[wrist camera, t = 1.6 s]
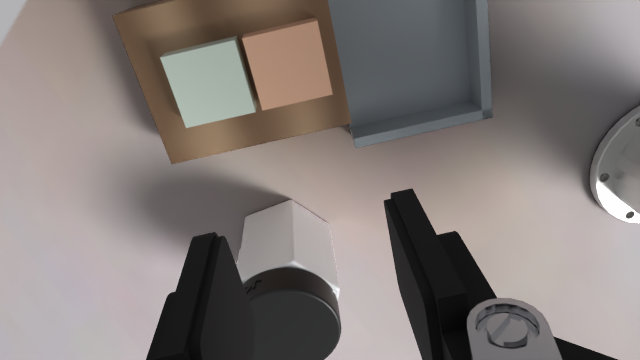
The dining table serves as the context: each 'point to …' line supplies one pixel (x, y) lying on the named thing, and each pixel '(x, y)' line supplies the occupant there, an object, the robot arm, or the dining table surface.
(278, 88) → the terracotta tile
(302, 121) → the tan cardboard box
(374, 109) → the tray
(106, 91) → the dining table surface
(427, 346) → the robot arm
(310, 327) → the jar
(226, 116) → the sage tile
